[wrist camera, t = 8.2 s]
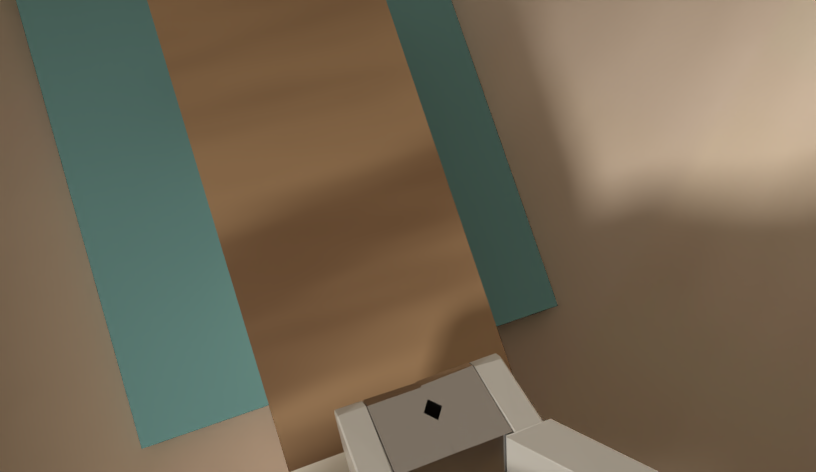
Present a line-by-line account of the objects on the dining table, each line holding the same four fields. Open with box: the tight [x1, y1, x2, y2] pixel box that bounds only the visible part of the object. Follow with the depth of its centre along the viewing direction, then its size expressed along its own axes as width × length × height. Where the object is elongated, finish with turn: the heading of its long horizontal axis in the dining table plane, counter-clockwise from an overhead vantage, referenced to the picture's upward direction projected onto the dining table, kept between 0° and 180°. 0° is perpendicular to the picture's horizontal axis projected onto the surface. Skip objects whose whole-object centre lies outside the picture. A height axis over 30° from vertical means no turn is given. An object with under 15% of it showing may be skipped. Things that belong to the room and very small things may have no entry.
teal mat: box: [16, 0, 558, 449], centre depth 21 cm, size 14×12×1 cm
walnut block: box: [147, 0, 513, 472], centre depth 18 cm, size 5×5×12 cm
